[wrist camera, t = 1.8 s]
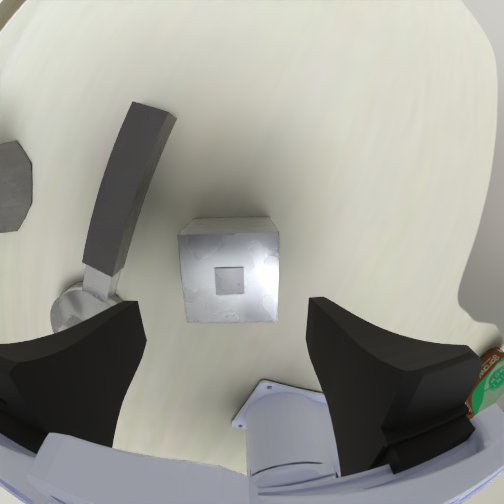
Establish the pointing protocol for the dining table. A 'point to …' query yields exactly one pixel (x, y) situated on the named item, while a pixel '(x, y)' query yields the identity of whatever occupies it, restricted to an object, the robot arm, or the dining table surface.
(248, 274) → the grey cube
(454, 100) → the dining table surface
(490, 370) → the food container
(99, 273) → the ratchet
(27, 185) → the coffeepot
